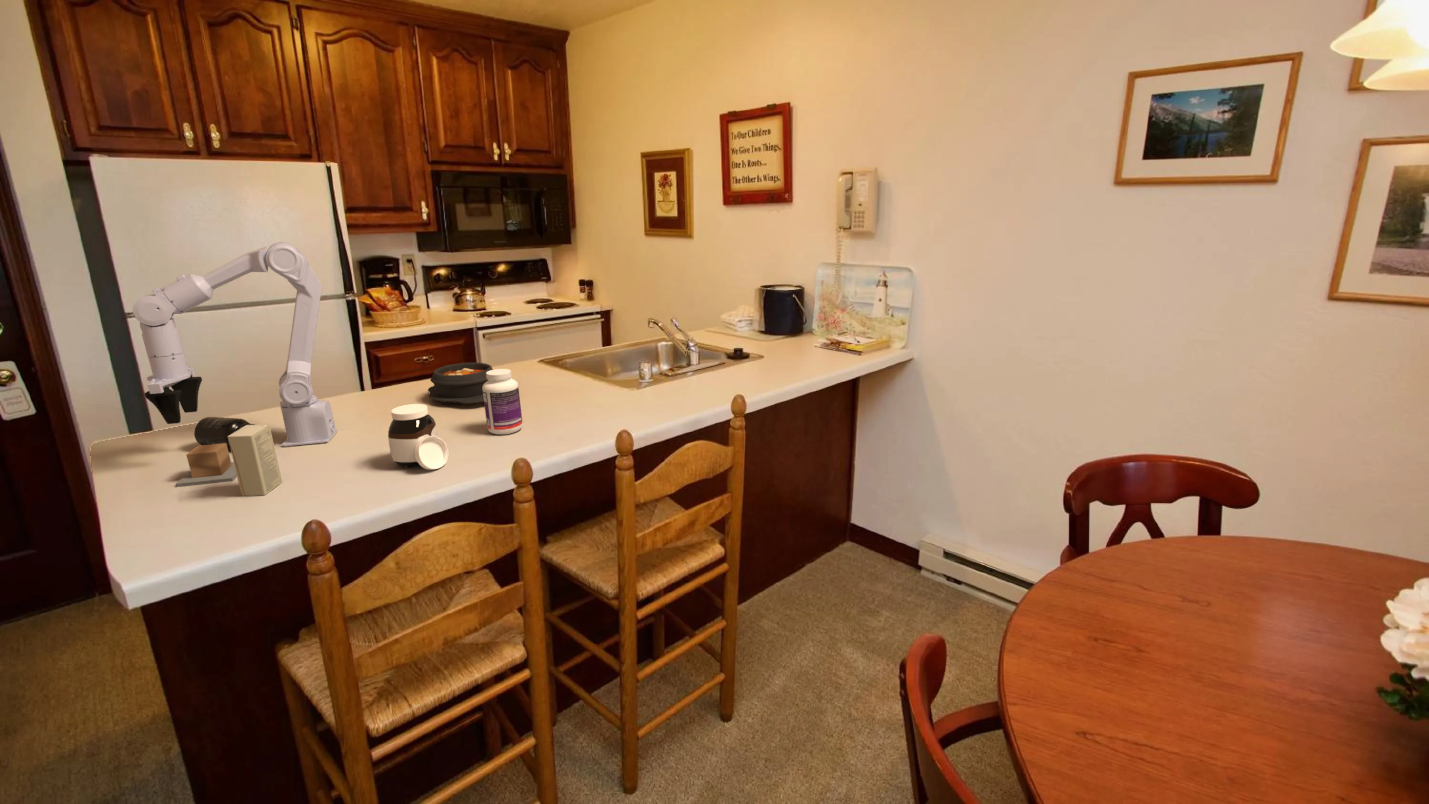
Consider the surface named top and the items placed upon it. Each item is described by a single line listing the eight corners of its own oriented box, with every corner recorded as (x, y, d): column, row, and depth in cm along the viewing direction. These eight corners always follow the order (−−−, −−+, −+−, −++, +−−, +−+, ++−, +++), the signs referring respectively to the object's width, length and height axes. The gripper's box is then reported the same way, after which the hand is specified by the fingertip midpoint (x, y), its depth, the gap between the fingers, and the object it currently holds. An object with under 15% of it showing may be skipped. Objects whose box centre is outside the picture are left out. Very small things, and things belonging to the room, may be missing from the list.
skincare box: (260, 483, 129) (246, 424, 125) (283, 482, 129) (270, 423, 125) (240, 497, 123) (225, 436, 119) (265, 496, 123) (251, 435, 119)
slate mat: (250, 462, 138) (250, 460, 138) (232, 480, 130) (231, 478, 130) (198, 468, 136) (197, 465, 136) (176, 486, 127) (175, 483, 127)
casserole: (521, 398, 181) (518, 369, 179) (459, 415, 168) (454, 383, 165) (473, 383, 197) (469, 355, 194) (412, 397, 183) (407, 368, 180)
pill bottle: (530, 427, 158) (524, 369, 154) (507, 438, 151) (500, 377, 147) (504, 422, 161) (497, 365, 157) (480, 433, 154) (472, 374, 150)
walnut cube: (231, 465, 136) (226, 443, 134) (221, 475, 131) (215, 451, 129) (203, 468, 134) (197, 445, 133) (192, 478, 130) (186, 454, 128)
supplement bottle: (194, 450, 145) (240, 453, 142) (190, 419, 143) (236, 422, 141) (223, 443, 151) (267, 446, 149) (219, 414, 150) (264, 416, 148)
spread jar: (410, 452, 143) (402, 401, 140) (461, 452, 143) (455, 401, 140) (382, 474, 132) (372, 419, 129) (438, 474, 132) (430, 419, 128)
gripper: (160, 348, 140) (177, 408, 144) (122, 364, 126) (141, 430, 130) (199, 345, 141) (214, 405, 146) (165, 361, 128) (183, 426, 132)
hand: (182, 417), depth 138 cm, fingers open, 7 cm apart
